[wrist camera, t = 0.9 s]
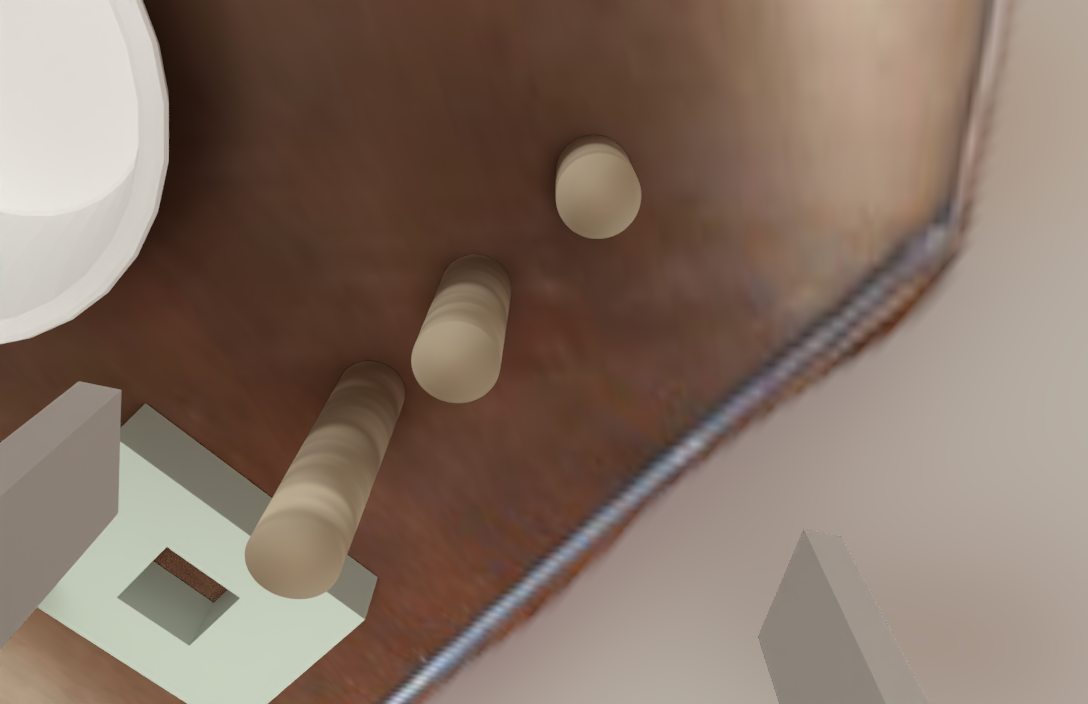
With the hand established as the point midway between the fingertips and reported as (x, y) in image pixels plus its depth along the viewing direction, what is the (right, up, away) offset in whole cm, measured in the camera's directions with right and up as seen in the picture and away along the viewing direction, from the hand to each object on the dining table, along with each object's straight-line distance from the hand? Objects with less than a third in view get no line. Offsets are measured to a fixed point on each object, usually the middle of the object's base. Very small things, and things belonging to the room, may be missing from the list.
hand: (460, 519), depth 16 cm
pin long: (-7, +1, +27) cm, 28 cm away
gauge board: (-18, -9, +31) cm, 37 cm away
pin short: (+4, +12, +22) cm, 25 cm away
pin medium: (-2, +6, +25) cm, 25 cm away
